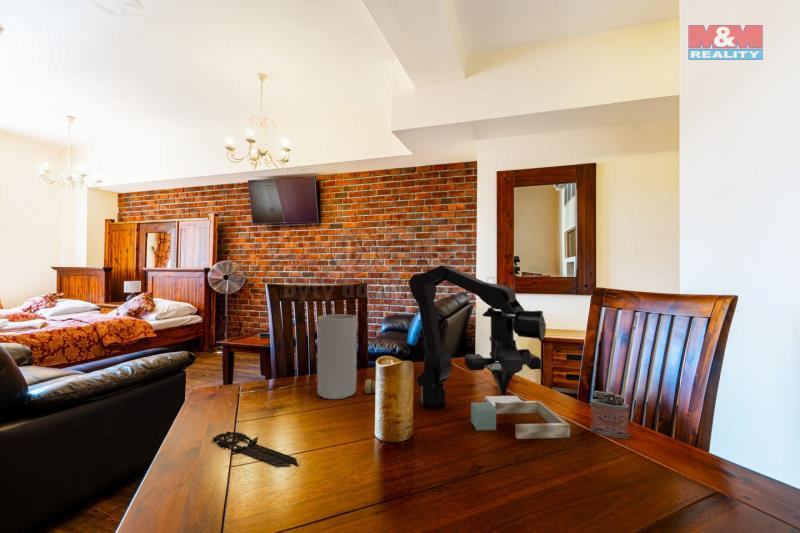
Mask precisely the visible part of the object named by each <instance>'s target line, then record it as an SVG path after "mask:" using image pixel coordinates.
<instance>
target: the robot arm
mask: <svg viewBox="0 0 800 533" xmlns="http://www.w3.org/2000/svg"><path fill="white" fill-rule="evenodd" d="M445 281H446V282H448V283H450V284H452V285H455V286H456V287H459V288H461V289H463V290H464V291H465V290H466V291H467V292H469V293H471V294H474V295H476V296H478V298H479V299H480V300H481V301H482V302H484V303H485V304H486V305H488V306H489V307H488V308H487V309H486V311H485V312H483V314H482V317H485V318H486V317H487V318H490V336H489V341H490V351H489V357H483V355H481V354H480V353H477V354H476V353H475V354H469V353H468V354H466V355H465V356H464V365H465V367H466V368H468V370H470V371H483V370H485V368H486V369H487V370H488V372H491V374H492V376H493V378H494V380H495V381H494V382H495V383H496V385H497V389H498V391H499V394H500V396H506V394H507V390H508V388H509V385H510V382H511V380H512V378H513V377H514V376H515V374H518V373H520V372H522V371H523V366H526V367H527V368H529V370H542V369H543V364H542V363H543V361H542V359H541V358H540V357H539V356H537V355H535V354H533V353H531V351H530V349H528V348H521V349H518V348H517V343H516V340H515V338H514V337H515V336H514V334H516V335H517V336H518V337H520V338H528V339H537V340H544V339H545V337H546V332H547V331H546V329H547V323H546V321H545V317H544V311H543V310H525V309H524V307H523V306H522V305H521V303H520V302H519V301H518V299H517V298H516V293H515V290H513V289H512V288H511V287H509V286H506V285H500V284H496V283H491V282H486V281H483V280H481V279H479V278H476V277H474V276H471V275H469V274H466V273H464V272H462V271H461V270H457V269H455V268H453V267H452V266H451V265H444V264H443V265H442V264H441V265H438V266H437V267H434V269H433V268H432V269H429V270H428V271H424V272H422V273H416V274H413V275H412V276H411V277H410V279H409V281H408V286H409V290H410V293H411V295H412V297H413V299H414V300H415V301H416V303H417V305H418V310H419V317H420V321H421V328H422V333H423V339H424V344H425V355H424V359H423V371H422V373H421V374H419V375H418V377H416V383H417V386H418V387H420V388H421V389H420V391H421V398H420V403H421V407H422V409H445V408H446V405H445V404H446V389H445V387H444V384H443V383H446V382H447V379H448V377H450V376H451V374H452V370H453V369H452V368H453V367H454V364H453V363H452V354H451V353H450V352H449V353H446V352H445V350H444V348H443V345H442V338H441V334H440V333H441V332H440V330H439V322H438V317H437V312H436V306H435V297H436V294H437V286H439V285H440V284H443V283H444V282H445Z"/></svg>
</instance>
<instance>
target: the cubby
mask: <svg viewBox="0 0 800 533" xmlns="http://www.w3.org/2000/svg"><path fill="white" fill-rule="evenodd" d="M495 409H496V415H503V414H505V415H507V414H510V415H512V414H513V415H514V414H538V415H539V416H541V417H542V418H543V419H544V420H545V421H546V422H548V423H515V431H514V432H515V438H516V439H518V440H523V439H525V440H526V439H527V440H529V439H562V438H564V439H565V438H566V439H567V438H571V424H570V423H569V422H567V421H566V420H565V419H563V418H562V417H561V416H560V415H559V414H557V413H556V412H555V411H553V409H551V408H550V407H548V406H547V405H545V403H543V402H542V401H541V400H522V401H507V402H495Z"/></svg>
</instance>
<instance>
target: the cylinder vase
mask: <svg viewBox="0 0 800 533" xmlns="http://www.w3.org/2000/svg"><path fill="white" fill-rule="evenodd" d="M357 318H358V317H357V315H354V314H338V313H337V314H325V315H320V316H318V317H317V395H318V396H319V397H320V396H321V398H322V397H323V399H326V398H327V399H326V400H341V399H346V397H347V398H349V396H350V397H351V396H353V395H354V394H356V392H357V333H358V332H357V330H358V329H357V328H358V327H357V323H358V322H357V320H358V319H357Z"/></svg>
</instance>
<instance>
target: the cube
mask: <svg viewBox="0 0 800 533" xmlns="http://www.w3.org/2000/svg"><path fill="white" fill-rule="evenodd" d="M470 405H471V406H470V409H471V410H470V422H471V424H472V425H473V427H474V429H475V430H476V431H496V430H497V414H496V409H495V408H494V407H493V406H492V405H491V403H490V402H486V401H485V402H471V403H470Z"/></svg>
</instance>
